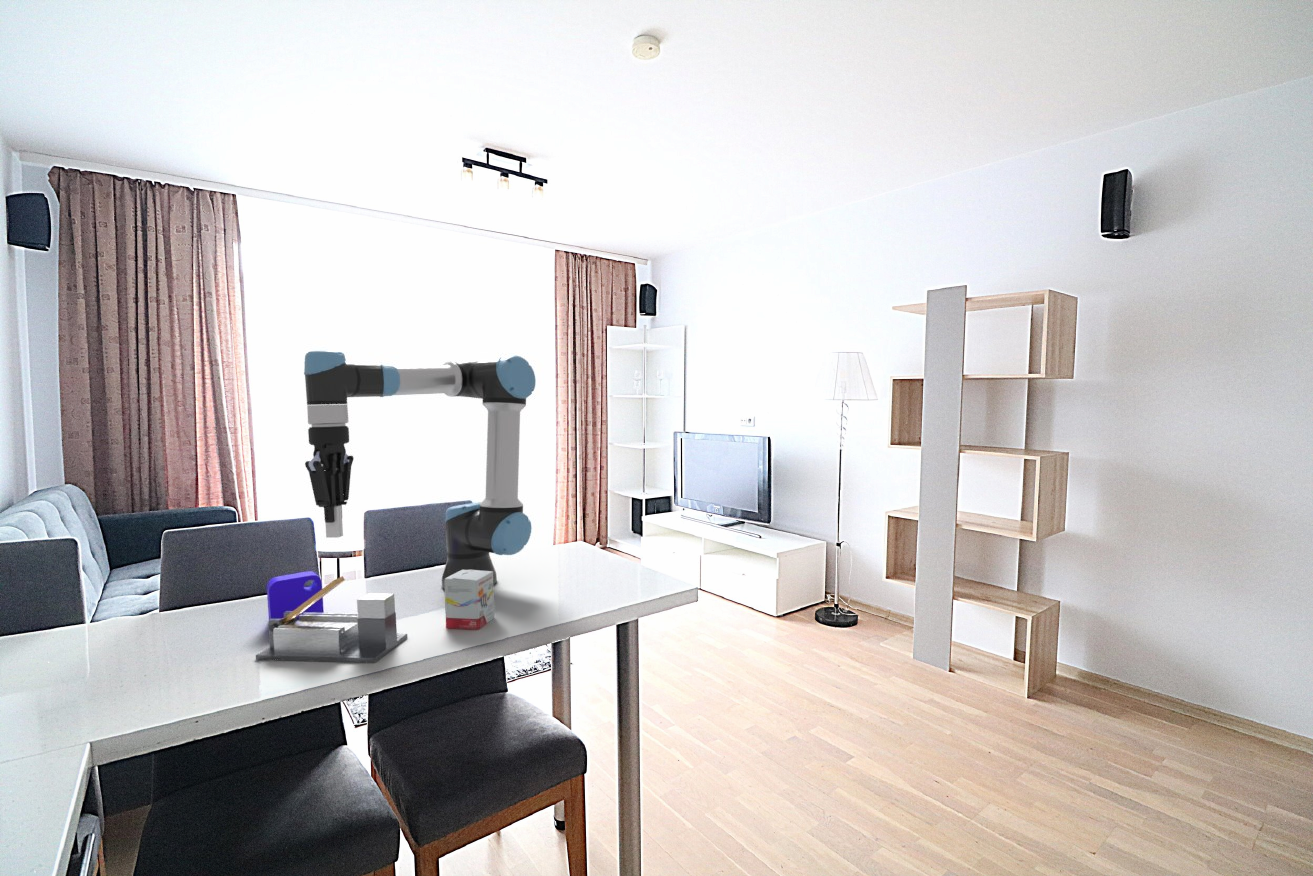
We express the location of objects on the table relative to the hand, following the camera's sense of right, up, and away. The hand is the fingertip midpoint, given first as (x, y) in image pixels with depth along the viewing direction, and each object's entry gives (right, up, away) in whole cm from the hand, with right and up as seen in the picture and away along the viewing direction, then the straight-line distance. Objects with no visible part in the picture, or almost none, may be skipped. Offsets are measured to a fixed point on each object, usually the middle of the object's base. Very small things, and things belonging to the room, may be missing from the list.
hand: (334, 536), depth 131 cm
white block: (+9, -17, 0) cm, 19 cm away
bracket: (-22, -24, +23) cm, 40 cm away
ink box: (+24, -23, +16) cm, 37 cm away
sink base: (-1, -24, +2) cm, 24 cm away
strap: (-6, -15, +2) cm, 17 cm away
